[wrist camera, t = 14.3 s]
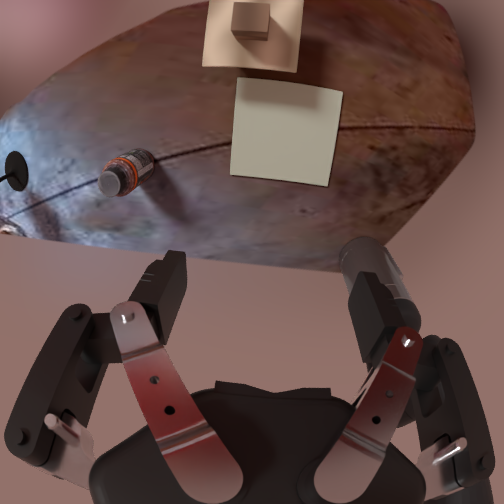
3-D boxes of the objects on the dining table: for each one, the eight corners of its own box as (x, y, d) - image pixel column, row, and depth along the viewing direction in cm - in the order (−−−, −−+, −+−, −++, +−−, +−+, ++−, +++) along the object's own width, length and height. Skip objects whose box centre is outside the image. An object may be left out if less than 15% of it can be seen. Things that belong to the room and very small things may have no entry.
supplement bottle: (136, 185, 45) (105, 210, 35) (120, 158, 42) (85, 178, 32) (161, 169, 43) (132, 192, 33) (145, 141, 40) (111, 156, 31)
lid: (303, -1, 22) (308, -17, 17) (295, 73, 29) (300, 67, 24) (212, -7, 22) (202, -22, 17) (203, 66, 29) (191, 61, 24)
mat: (342, 92, 34) (342, 92, 34) (326, 185, 43) (327, 186, 42) (237, 77, 34) (237, 77, 34) (230, 173, 43) (229, 174, 43)
